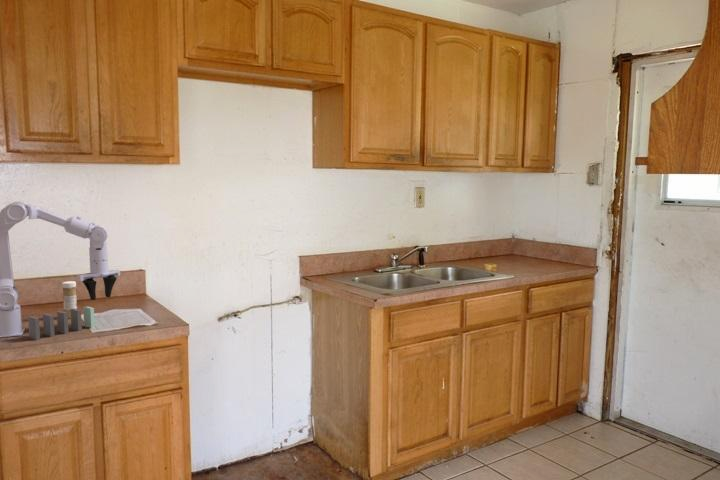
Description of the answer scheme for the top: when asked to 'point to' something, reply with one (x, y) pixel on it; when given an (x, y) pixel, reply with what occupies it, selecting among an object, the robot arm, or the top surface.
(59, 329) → the domino
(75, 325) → the domino
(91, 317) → the green domino
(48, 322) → the domino
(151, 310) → the top surface
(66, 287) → the sprinkles bottle
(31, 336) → the domino
